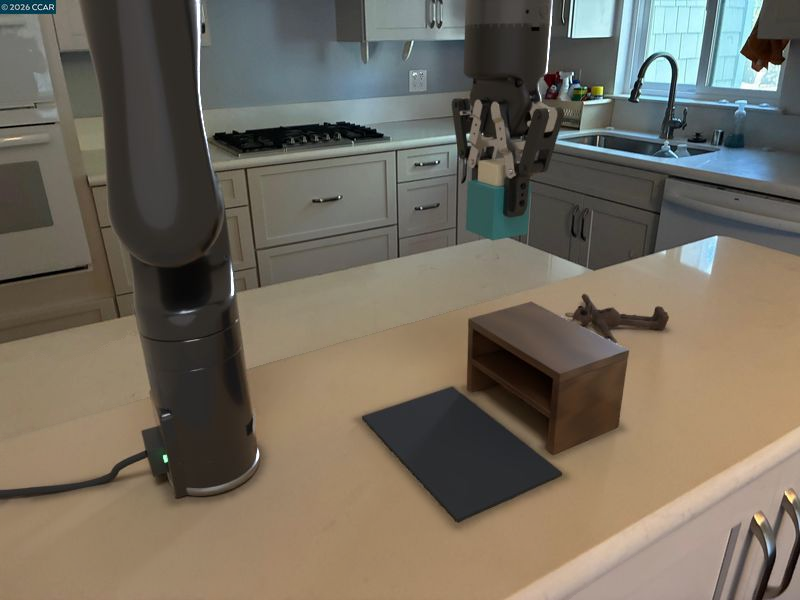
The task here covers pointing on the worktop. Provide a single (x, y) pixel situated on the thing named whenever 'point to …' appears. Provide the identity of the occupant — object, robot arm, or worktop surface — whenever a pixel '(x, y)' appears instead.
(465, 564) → the worktop surface
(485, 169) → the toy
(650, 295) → the worktop surface
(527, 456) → the mat
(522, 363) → the shelf
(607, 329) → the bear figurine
